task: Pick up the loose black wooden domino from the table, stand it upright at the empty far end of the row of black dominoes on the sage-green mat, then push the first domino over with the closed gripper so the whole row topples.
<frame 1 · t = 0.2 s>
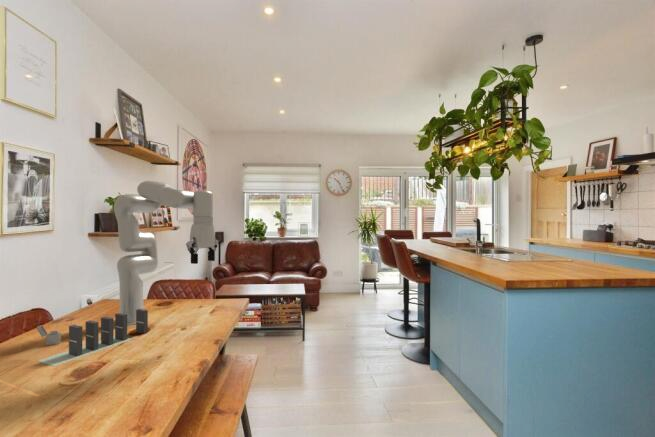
hand: (203, 262, 137), 31 cm above the table, tool pointing down, fingers open, 9 cm apart
domino 2: (107, 343, 127), resting on mat
domino 1: (121, 339, 132), resting on mat
mat: (88, 350, 122), on the table
domino 3: (91, 348, 122), resting on mat
domino 4: (75, 354, 117), resting on mat
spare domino: (141, 333, 140), on the table
lighter: (48, 346, 127), on the table
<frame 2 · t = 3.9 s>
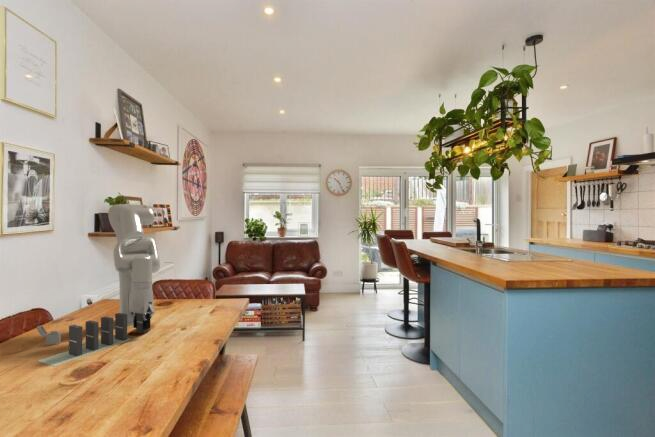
hand: (141, 327, 140), 2 cm above the table, tool pointing down, fingers closed on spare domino, 4 cm apart
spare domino: (141, 333, 140), on the table, touching gripper
everything else where it was.
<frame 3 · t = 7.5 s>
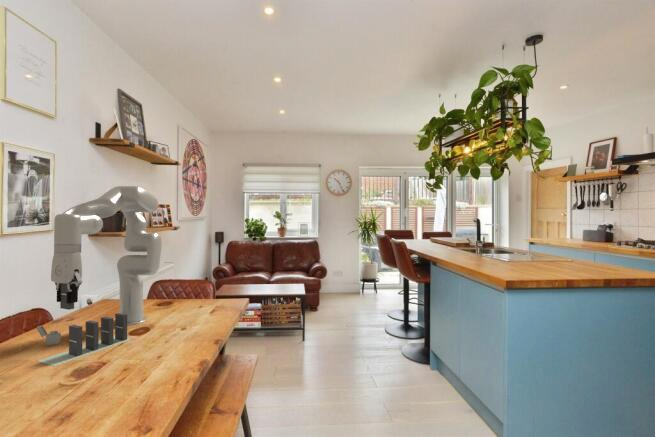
hand: (67, 301, 115), 20 cm above the table, tool pointing down, fingers closed on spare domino, 4 cm apart
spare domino: (67, 308, 115), point 18 cm above the table, touching gripper
everything else where it was.
when the fingers open (4 cm above the table, at t = 11.2 s): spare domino stays where it is, resting on mat.
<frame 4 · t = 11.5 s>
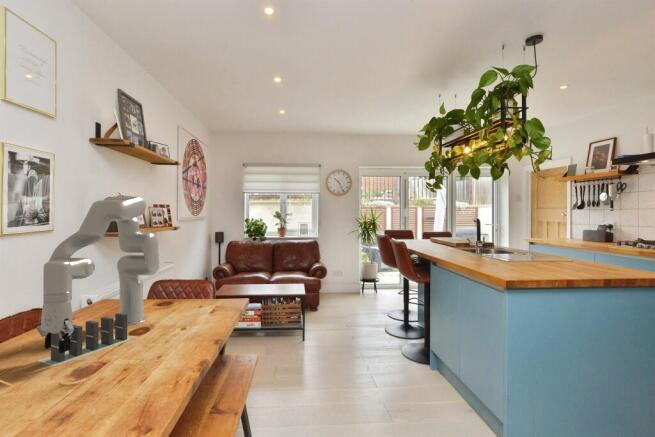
hand: (57, 349, 112), 4 cm above the table, tool pointing down, fingers open, 7 cm apart
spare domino: (57, 360, 112), resting on mat
everything else where it was.
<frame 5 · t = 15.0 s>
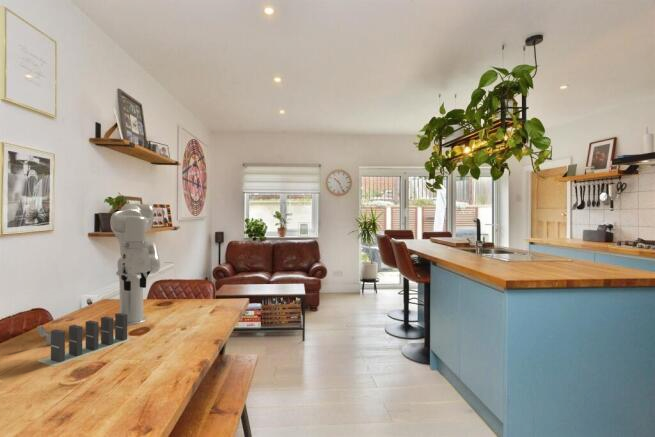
hand: (135, 288, 138), 20 cm above the table, tool pointing down, fingers open, 6 cm apart
nothing on the table moved.
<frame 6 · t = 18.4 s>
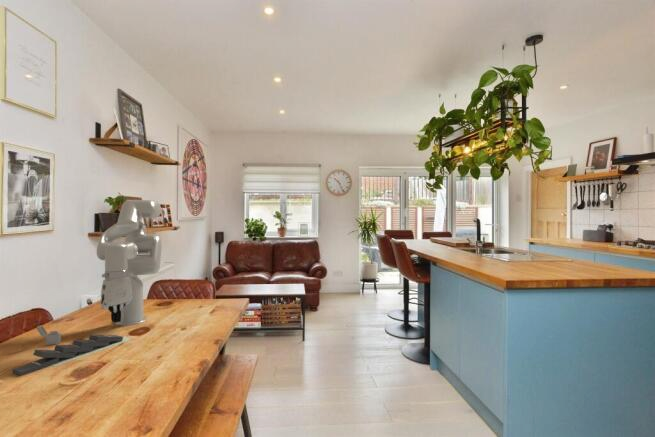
hand: (116, 321, 130), 8 cm above the table, tool pointing down, fingers closed
domino 2: (104, 342, 126), point 1 cm above the table, tilted 73°, touching domino 1, domino 3, mat
domino 1: (118, 338, 131), point 1 cm above the table, tilted 72°, touching domino 2, mat
domino 3: (88, 347, 121), point 1 cm above the table, tilted 72°, touching domino 2, domino 4, mat
domino 4: (70, 353, 116), point 1 cm above the table, tilted 69°, touching domino 3, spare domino
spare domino: (54, 358, 111), point 1 cm above the table, tilted 94°, touching domino 4, mat
everything else where it was.
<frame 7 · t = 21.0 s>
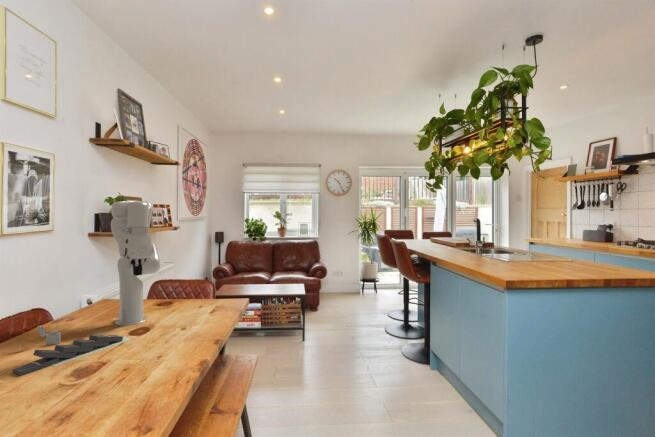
hand: (137, 274, 139), 25 cm above the table, tool pointing down, fingers closed
nothing on the table moved.
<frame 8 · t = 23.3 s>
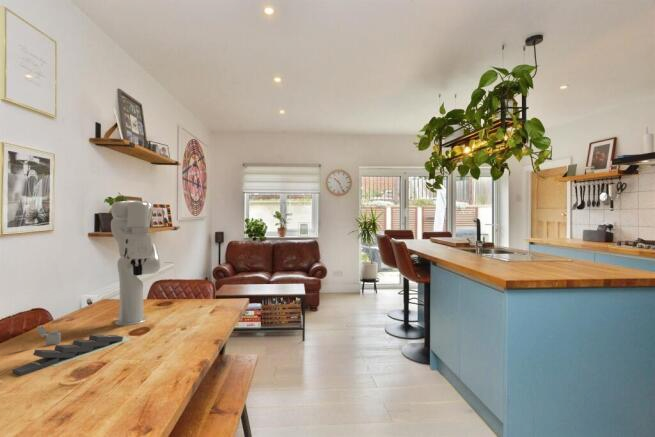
hand: (137, 274, 139), 25 cm above the table, tool pointing down, fingers closed
domino 4: (70, 353, 116), point 1 cm above the table, tilted 69°, touching domino 3, mat, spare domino
everything else where it was.
at the end: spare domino tilted 94°; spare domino inside the target area (0.1 cm from its centre), point 1.4 cm above the table; domino 1 tilted 72° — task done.
